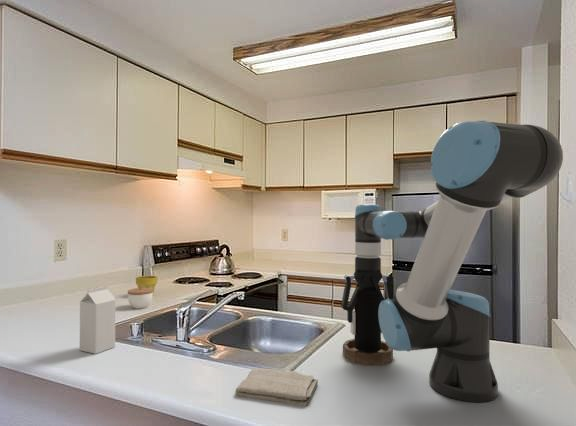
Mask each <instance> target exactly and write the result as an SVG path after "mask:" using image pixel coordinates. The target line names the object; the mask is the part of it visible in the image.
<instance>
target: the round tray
mask: <svg viewBox="0 0 576 426" xmlns="http://www.w3.org/2000/svg"><path fill="white" fill-rule="evenodd" d="M354 342H355V338H352V339H348V340H346V341H345V342H344V343H342V355H343V357H344V358H345V360H347V361H349V362H352V363H353V364H358V365H363V366H367V367H368V366H370V367H371V366H383V365H387V364H389V363H390V364H391V362H392V360H393V358H394V350H393V349H392V348H391V347H390V346H389V345H388V344H387V343H386V341H382V340H381V346H382V349H381V350H380V351H377V352H364V351H360V350H357V349H355V348H354Z"/></svg>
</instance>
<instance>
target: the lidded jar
mask: <svg viewBox="0 0 576 426" xmlns="http://www.w3.org/2000/svg"><path fill="white" fill-rule="evenodd" d="M153 296H154V294H153V289H151V288H142V286H139V288H138V287H137V288H132V289H128V290H127V298H128V303H129V305H130V307H132V308H133V309H135V310H141V309H146V308H148V307H149V306H150V305H151V303H152V301H153V298H154V297H153Z"/></svg>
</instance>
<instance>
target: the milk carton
mask: <svg viewBox="0 0 576 426" xmlns="http://www.w3.org/2000/svg"><path fill="white" fill-rule="evenodd" d="M115 347H116V297H114V295H113V294H112V292H111V290H109V285H106V286H101V287H96V288H91V289H87V293H86V294H85V296H84V297H83V298H82V299H81V300H80V301H79V351H81V352H86V353H90V354H94V355H97V354H100V353H102V352H105V351H108V350H110V349H113V348H115Z"/></svg>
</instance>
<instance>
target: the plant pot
mask: <svg viewBox="0 0 576 426" xmlns="http://www.w3.org/2000/svg"><path fill="white" fill-rule="evenodd" d="M157 284H158V275H140V276H137V277H135V285H136V286H137V288H139V286H142V288H151V289H153V295H154V294H155V289H156V285H157Z"/></svg>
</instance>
